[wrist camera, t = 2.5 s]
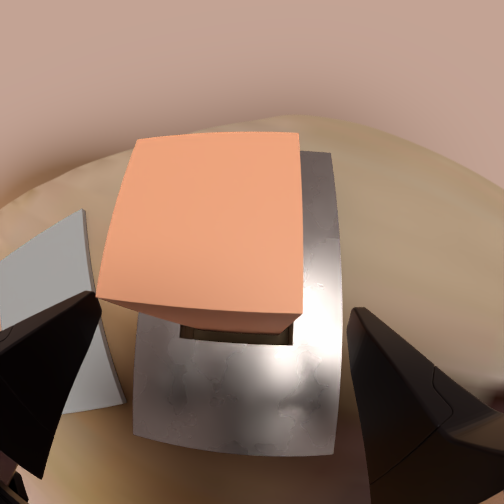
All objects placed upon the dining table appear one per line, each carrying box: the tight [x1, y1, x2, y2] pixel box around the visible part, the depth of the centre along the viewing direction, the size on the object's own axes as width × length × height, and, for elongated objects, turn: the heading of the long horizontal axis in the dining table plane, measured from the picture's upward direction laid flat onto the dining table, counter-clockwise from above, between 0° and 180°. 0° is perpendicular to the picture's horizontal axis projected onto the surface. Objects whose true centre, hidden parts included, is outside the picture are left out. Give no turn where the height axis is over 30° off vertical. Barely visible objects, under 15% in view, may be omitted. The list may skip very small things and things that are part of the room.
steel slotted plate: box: [133, 151, 342, 456], centre depth 17 cm, size 20×12×3 cm, turn 177°
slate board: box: [0, 209, 127, 414], centre depth 18 cm, size 17×14×1 cm
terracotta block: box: [96, 132, 303, 335], centre depth 12 cm, size 5×5×12 cm
